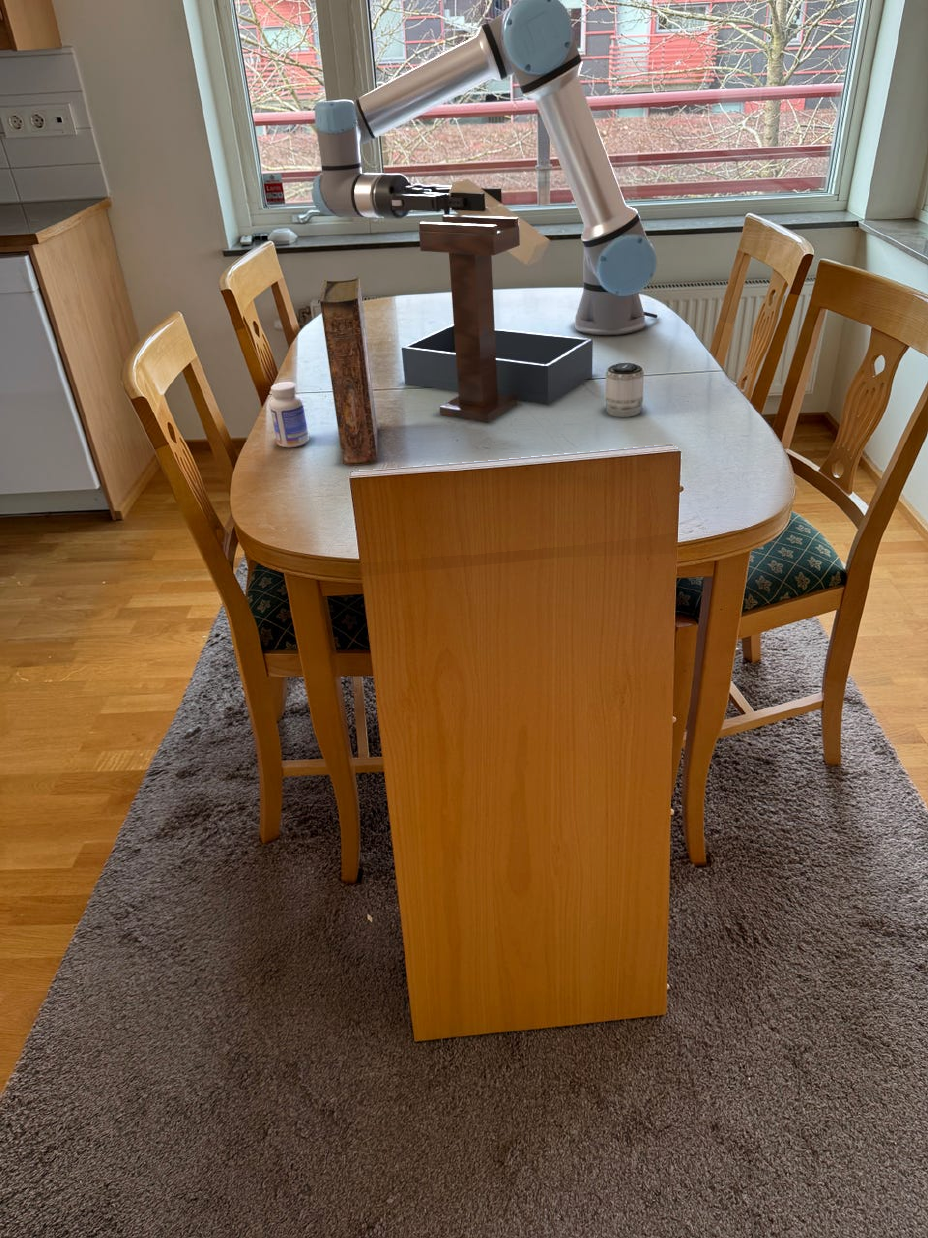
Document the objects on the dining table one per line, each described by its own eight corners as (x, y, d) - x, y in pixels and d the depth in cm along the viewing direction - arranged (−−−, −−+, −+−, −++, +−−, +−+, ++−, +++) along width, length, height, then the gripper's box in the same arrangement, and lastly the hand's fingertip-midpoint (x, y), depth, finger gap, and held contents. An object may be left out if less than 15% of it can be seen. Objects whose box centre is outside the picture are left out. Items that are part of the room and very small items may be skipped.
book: (377, 463, 144) (357, 300, 130) (342, 466, 144) (319, 303, 130) (377, 426, 158) (359, 275, 144) (345, 429, 157) (324, 278, 144)
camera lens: (646, 406, 158) (648, 361, 153) (636, 419, 153) (638, 373, 149) (611, 403, 160) (612, 359, 156) (600, 415, 155) (601, 370, 151)
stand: (527, 405, 162) (522, 216, 145) (498, 424, 155) (489, 227, 138) (461, 395, 169) (449, 213, 152) (430, 413, 162) (414, 224, 145)
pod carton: (540, 260, 161) (550, 239, 158) (527, 265, 158) (536, 245, 155) (459, 199, 164) (467, 178, 161) (444, 203, 161) (452, 181, 158)
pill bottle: (314, 437, 155) (305, 381, 150) (299, 449, 151) (290, 391, 146) (286, 435, 157) (276, 379, 152) (271, 447, 153) (260, 390, 148)
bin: (592, 376, 174) (592, 339, 170) (548, 405, 161) (547, 366, 158) (454, 358, 189) (452, 324, 185) (404, 383, 177) (401, 347, 173)
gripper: (414, 210, 177) (518, 214, 166) (357, 226, 165) (465, 232, 154) (411, 167, 173) (517, 168, 162) (352, 180, 161) (462, 183, 150)
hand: (492, 199), depth 158 cm, fingers closed on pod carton, 5 cm apart
